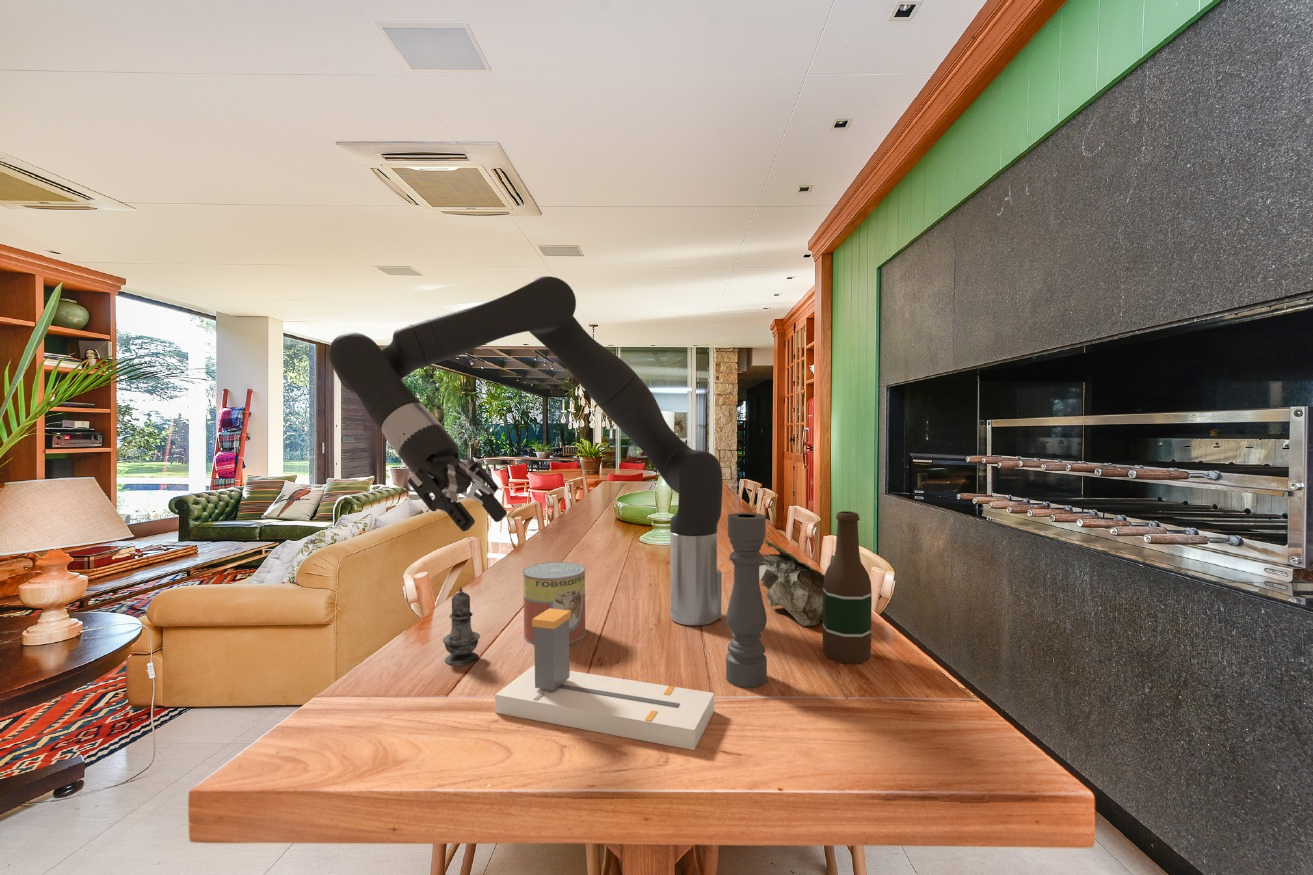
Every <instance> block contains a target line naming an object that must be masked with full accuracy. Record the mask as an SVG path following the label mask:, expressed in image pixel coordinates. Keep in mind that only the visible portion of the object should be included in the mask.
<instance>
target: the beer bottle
mask: <svg viewBox="0 0 1313 875" xmlns="http://www.w3.org/2000/svg"><path fill="white" fill-rule="evenodd" d="M859 515H860V514H859V513H858V512H855V511H849V510H845V511H844V510H843V511H839V512H836V516H835V519H836V520H837V526H836V540H835V551H834V557H833V560H832V561H831V563H830V564H829V565H828V567H827V568H826V571H825V573H824V574H823V575H824V581H823V620H822V650H823V653H824V654H825V655H826V656H827V659H829V660H832V661H834V662H838V663H841V664H863V663H864V662H867V661H868V660H869V659H870V658H871V651H872V650H871V649H872V598H873V597H872V594H873V592H872V581H871V578H870V575H869V573H868V571H867V569H866V568H865V566H864V565H863V563H862V561H861V555H860V543H859V542H860V539H859V525H858V524H859V521H860V516H859Z"/></svg>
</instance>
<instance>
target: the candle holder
mask: <svg viewBox="0 0 1313 875" xmlns="http://www.w3.org/2000/svg"><path fill="white" fill-rule="evenodd" d="M766 517H767V516H766V515H765V514H763V513H756V512H754V513H753V512H734V513H730V514H728V515H727V537H728V538H729V543H730V544H731V547H732V549H733V551H732V552H731V553H729V561H731V562H732V564H733V585H732V590H731V594H730V598H729V604H728V607H727V611H726V620H725V621H726V624H727V626H728V628H729V629H730V631H731V636H732V637H733V638H732V639H731V640H730V642H729V643H728V644H727V651H728V652H727V653H726V654H725V655H726V656H725V659H726V660H725V671H726V672H725V679H726V681H727V683H729V684H731V685H733V686H735V687H739V688H745V689H746V688H747V689H754V688H759V687H762V686H764V685H765V684H766V683H767V681H768V679H767V678H768V676H767V674H768V671H767V670H768V665H767V664H768V663H767V662H768V660H767V656H766V655H765V653H766V646H765V645H764V644H763V642H762V641H761V637H762V632H763V631H764V629H765V628H766V627H767V623H768V618H767V613H766V608H765V603H764V599H763V596H762V591H761V590H762V589H761V586H760V580H759V565H761V562H763V561H764V556H763V555H764V554H763V553H761V552H760V551H761V549H762V546H763V544H764V543H765V542H764V541H765V539H766V536H767V534H766V532H767V531H766V525H767V523H766V522H767V521H766V520H767V518H766Z"/></svg>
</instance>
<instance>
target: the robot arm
mask: <svg viewBox="0 0 1313 875" xmlns="http://www.w3.org/2000/svg"><path fill="white" fill-rule="evenodd" d="M576 307H577V298H576V295H575V293H574V290H573V289H572V287H571V286H570V285H569V284H568V283H567V282H566V281H564V280H563V279H561V278H558V277H556V276H548V275H547V276H545V275H544V276H540V277H537V278H535V279H533V280H531V281H530V282H529V283H527V284H526V285H523V286H521V287H519V288H518V289H515V290H513V291H512V292H509V293H507V294H505V295H504V294H503V295H502V296H500V297H497V298H494V299H491V300H489V301H486V302H483V303H481V304H477V305H474V306H471V307H470V306H469V307H467V308H464V309H460V310H456V311H452V312H449V313H444V314H441V315H437V316H434V317H431V318H427V319H423V320H420V321H416V322H413V323H410V324H407V325H404V326H400V327H398V328H397V329H396V330H394V332H393V334H392V339H391V340H392V341H391V343H389V344H388V345H386V346H384V347H382V348H380V346H379V345H378V344H377V343H376V342H375V340H373V339H372V338H370V337H369V336H367V335H366V334H363V333H359V332H352V331H351V332H350V331H349V332H344V333H342V334H340V335H339V334H338V336H336V337H335V338H334V339H333V340H332V341H331V343H330V345H329V349H328V360H329V363H330V365H331V366H332V368H333V370H334V372H335V374H336V376H337V377H338V379H339V381H340V383H341V385H342V386H343V387H344V388H345V389H346V390H347V391H349V392H351V393H354V394H356V396H357V397H358V398H359V400H360V401H361V403H362V405H363V407H364V409H365V411H366V412H367V414H368V416H369V417H370V419H371V420H372V421H373V422H374V424H375V425H376V426H377V428H378V429H379V430H380V431H381V432H382V434H383V435H384V437H385V439H386V440H387V442H388V444H389V445H390V447H392V449H393V451H394V452H395V453H396V454H397V456H399V458H400V459H401V461H402V462H403V463H404V464H405V465H406V467H407V468H408V469H409V471H410V472H411V473H412V475H411V476H410V477H409V478H408V480H407V483H408V485H410V487H411V488H412V489H413V490H414V492H416V494H417V496H418V497H419V498H420V499H421V500H422V502H423V503H424V504H425V505H426V506H427V507H428V509H429V510H430V511H432V512H437V510H440V512H442V513H444V514H447V515H448V516H449V517H450V518H451V520H452V521H453V523H454V524H455V526H457V527H458V528H459V529H460V530H461V531H462V532H466V531H469V530H470V529H471V528H472V526H473V525H475V523H476V522H475V521H476V520H475V519H474V517H473V516H472V515H471V514H470V512H469V511H468V509H467V508H466V507H465V506H464V505H463V503H461V501H458V495H462V496H464V497H465V498H467V499H469V498H471V499H473V500H475V501H477V502H478V503H480V504H481V506H482V507H483V509H484V510H485V511H486V512H487V514H488V515H489V516H490V518H492V520H493V521H494V522H495V523H499V522H501V521H502V520H503V519H504V518H505V517H506V515H507V514H508V512H507V510H506V508H504V506H503V505H502V504H501V503H500V501H499V500H498V499H497V498H496V497H495V495H494V494H495V493H496V492H498V490H499V486H498V484H497V483H496V482H495V481H494V480H493V479H492V477H491V476H490V475H489V473H488V472H487V471H486V470H485V468H483V466H482V464H480V463H479V462H478V461H476V460H474V462H472V464H470V465H467V464H466V463H464V462H463V461H462V460H461V459H460V458H459V452H460V447H459V445H458V443H457V442H456V441H455V440H454V439H453V437H452V436H451V435H450V434H449V433H448V431H447V430H446V429H445V427H444V426H443V425H442V424H441V423H440V422H439V420H438V419H437V418H436V417H435V416H434V414H433V413H431V411H430V410H429V409H427V408H426V407H425V406H424V405H423V403H422V402H421V401H420V400H419V399H418V398H417V396H416V395H415V394H414V393H413V391H411V389H410V388H409V387H408V386H407V385H406V384H405V383H404V381H402V380H403V379H404V378H406V377H407V376H409V375H410V374H412V373H413V372H416V370H418V369H421V368H422V369H423V368H426V367H428V366H431V365H435V364H437V363H441V362H444V361H446V360H450V359H452V358H455V357H458V356H461V355H464V354H466V353H468V352H471V351H473V350H475V349H477V348H480V347H482V346H484V345H486V344H489V343H492V342H494V341H497V340H499V339H503V338H507V337H509V336H513V335H517V334H521V333H525V332H528V333H530V334H531V335H532V336H533V337H534V338H536V340H538V341H539V342H540V343H541V344H542V345H544V346H545V348H546V349H548V350H549V351H550V352H551V353H552V354H554V356H555V357H557V358H558V359H559V360H560V362H561V363H562V364H563V365H564V366H565V368H566V369H567V370H568V371H569V373H571V375H572V376H573V378H574V379H575V380H576V381H577V383H579V385H580V386H581V387H582V388H583V390H584V391H585V392H586V393H587V394H588V395H589V396H590V397H591V399H592V400H593V401H594V402H595V404H596V405H597V406H598V407H599V409H601V410H602V411H603V412H604V414H605V415H606V416H607V417H608V419H610V420H611V421H612V422H613V423H614V424H615V425H616V426H617V427H618V428H619V429H620V430H621V431H622V433H624V434H625V435H626V437H628V438H629V440H631V441H632V442H633V443H634V444H635V445H636V446H637V447H638V448H639V449H640V450H641V451H642V452H643V453H644V455H645V456H646V457H647V458H648V460H649V461H650V463H652V465H653V466H654V468H655V469H656V470H657V472H658V474H659V475H660V477H662V479H663V480H664V482H665V483H666V485H667V486H668V487H669V488H670V489H671V490H672V491H674V492H675V493H677V494H678V503H677V504H678V505H677V506H678V507H677V511H676V512H675V514H674V515H672V516H671V518H670V520H669V521H670V524H669V527H670V528H669V529H670V530H669V533H670V534H669V535H670V536H669V539H670V542H669V545H670V546H669V547H670V552H669V553H670V555H669V556H670V558H669V559H670V567H669V568H670V578H669V579H670V580H669V581H670V607H669V608H670V619H671V620H672V621H673V622H675V623H677V624H681V625H685V626H705V625H709V624H713V623H715V622H716V621H718V620H722V604H723V603H722V599H723V598H722V594H723V593H722V584H723V583H722V580H723V579H722V570H721V569H719V568H718V524H719V521H720V520H721V516H722V510H723V509H722V505H723V484H724V483H723V480H724V478H723V470H722V467H721V464H720V460H718V458H717V457H716V456H715V455H714V454H712V453H711V452H708V451H705V450H697V449H693V448H691V447H690V446H688V445H687V444H686V443H685V442H684V441H683V440H682V439H681V438H680V437H679V436H678V435H677V434H676V433H675V432H674V431H673V429H671V427H670V426H669V424H668V423H667V421H666V420H665V417H664V415H663V413H662V411H661V408H660V406H659V403H658V402H657V400H656V398H655V396H654V395H653V392H652V391H651V389H649V387H648V386H647V385H646V383H645V382H644V381H643V380H642V378H640V376H639V375H638V374H637V373H636V372H635V371H634V369H632V368H631V367H630V366H629V364H627V363H626V362H625V361H624V360H623V359H621V358H620V357H619V356H617V354H615V353H614V352H612V351H610V350H609V349H608V348H606V347H605V346H604V345H602V344H600V342H598V341H596V339H594V338H593V337H592V336H591V335H590V334H589V333H588V331H586V330H585V329H584V327H583V326H582V325H581V324H580V322H579V321H578V320H577V319H576V318H575V316H574V314H575V311H576ZM471 484H472V486H471ZM486 484H487V485H486ZM470 486H471V487H470ZM477 491H478V492H479V493H478V492H477ZM431 493H432V494H433V496H434V499H433V498H432V497H431V496H430V495H431Z"/></svg>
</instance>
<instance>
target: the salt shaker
mask: <svg viewBox="0 0 1313 875" xmlns="http://www.w3.org/2000/svg"><path fill="white" fill-rule="evenodd" d="M463 590H464V589H463V588H462V587H461V586H460V587H459V589H458V592H456V593H455V594H454V595H452V597H451V614H450V615H449V618H450V620H451V630H450V634H447V635H445V636H444V637H443V639H442V642H443V643H444V648H445V650H446V651H447V652H448V653H449V655H448V656H446V658H445V659H444V661H445V664H446V665H449V666H452V667H453V666H454V667H455V666H465V665H470V664H472V663H475V662H476V661H477V660H478V659H479V654H478V653H476V652H474V651H475V649H476V648H477V647H478V643H479V639H480V638H481V634H480V633H478V632H476V631H473V630H472V620H471V619H472V616H473V613H472V612H471V597H470V595H469V594H468V593H467V592H464V591H463Z"/></svg>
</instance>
